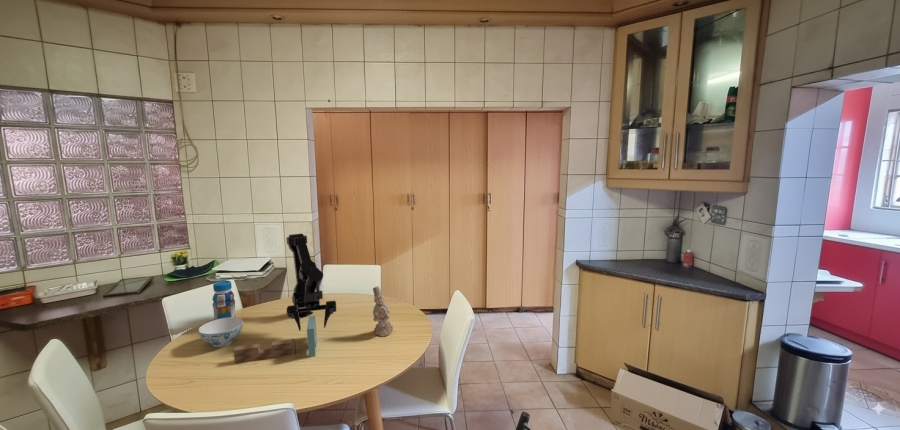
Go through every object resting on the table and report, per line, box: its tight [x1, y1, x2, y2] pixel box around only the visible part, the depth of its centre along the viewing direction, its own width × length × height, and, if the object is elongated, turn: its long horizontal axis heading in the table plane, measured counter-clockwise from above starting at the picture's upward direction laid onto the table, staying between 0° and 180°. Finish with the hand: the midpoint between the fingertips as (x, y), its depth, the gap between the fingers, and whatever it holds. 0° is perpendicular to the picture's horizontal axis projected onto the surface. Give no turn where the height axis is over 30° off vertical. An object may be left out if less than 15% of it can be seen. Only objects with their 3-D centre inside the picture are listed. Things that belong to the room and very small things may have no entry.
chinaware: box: [198, 316, 244, 348], centre depth 142 cm, size 15×15×8 cm
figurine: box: [372, 285, 394, 337], centre depth 150 cm, size 9×8×20 cm
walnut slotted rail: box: [233, 338, 297, 364], centre depth 131 cm, size 20×3×5 cm, turn 108°
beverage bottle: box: [212, 280, 237, 320], centre depth 157 cm, size 8×8×20 cm
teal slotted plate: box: [306, 315, 318, 358], centre depth 137 cm, size 12×2×11 cm, turn 18°
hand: (312, 329), depth 140 cm, fingers open, 9 cm apart
